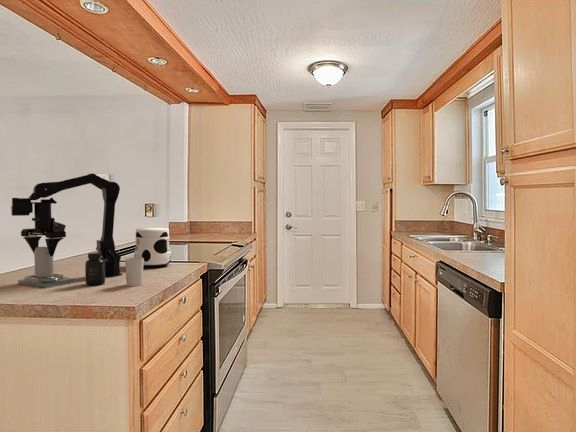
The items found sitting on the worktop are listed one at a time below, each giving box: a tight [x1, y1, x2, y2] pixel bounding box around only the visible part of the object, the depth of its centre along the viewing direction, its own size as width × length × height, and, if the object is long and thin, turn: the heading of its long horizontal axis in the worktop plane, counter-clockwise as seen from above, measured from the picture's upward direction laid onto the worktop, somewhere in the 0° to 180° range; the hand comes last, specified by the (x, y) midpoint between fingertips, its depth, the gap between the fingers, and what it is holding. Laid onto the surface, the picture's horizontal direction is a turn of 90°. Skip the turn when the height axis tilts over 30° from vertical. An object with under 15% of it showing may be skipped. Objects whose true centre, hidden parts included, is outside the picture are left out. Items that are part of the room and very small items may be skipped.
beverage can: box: [33, 246, 55, 278], centre depth 167 cm, size 6×6×12 cm
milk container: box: [133, 227, 172, 268], centre depth 207 cm, size 17×17×18 cm
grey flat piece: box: [17, 272, 76, 289], centre depth 165 cm, size 16×12×3 cm
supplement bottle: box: [84, 251, 106, 287], centre depth 163 cm, size 7×7×12 cm
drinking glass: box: [124, 256, 144, 287], centre depth 163 cm, size 7×7×10 cm
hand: (43, 255), depth 167 cm, fingers open, 9 cm apart
